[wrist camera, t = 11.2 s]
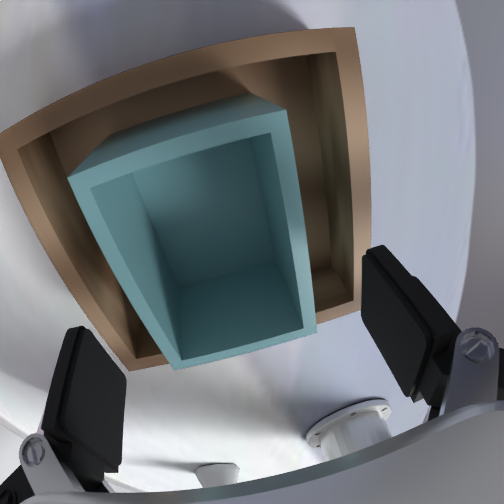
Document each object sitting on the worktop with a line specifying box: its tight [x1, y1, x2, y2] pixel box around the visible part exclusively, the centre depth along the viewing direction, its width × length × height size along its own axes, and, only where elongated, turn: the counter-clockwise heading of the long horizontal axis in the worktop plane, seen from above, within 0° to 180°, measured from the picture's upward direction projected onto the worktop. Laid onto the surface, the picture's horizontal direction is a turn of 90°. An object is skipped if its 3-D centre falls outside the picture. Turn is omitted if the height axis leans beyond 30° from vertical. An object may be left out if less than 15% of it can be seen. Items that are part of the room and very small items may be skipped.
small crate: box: [67, 92, 317, 370], centre depth 14 cm, size 10×7×6 cm
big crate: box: [0, 27, 371, 371], centre depth 15 cm, size 15×15×4 cm
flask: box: [194, 464, 240, 488], centre depth 37 cm, size 7×7×10 cm
